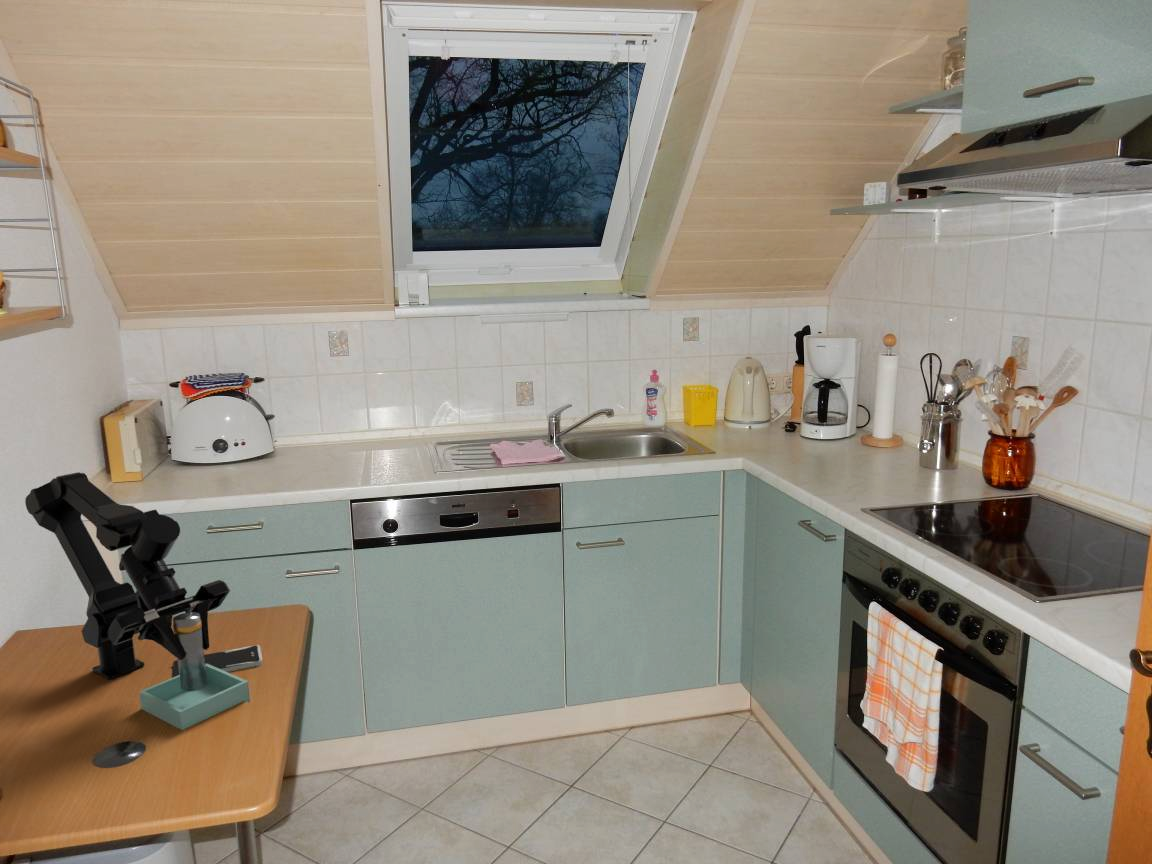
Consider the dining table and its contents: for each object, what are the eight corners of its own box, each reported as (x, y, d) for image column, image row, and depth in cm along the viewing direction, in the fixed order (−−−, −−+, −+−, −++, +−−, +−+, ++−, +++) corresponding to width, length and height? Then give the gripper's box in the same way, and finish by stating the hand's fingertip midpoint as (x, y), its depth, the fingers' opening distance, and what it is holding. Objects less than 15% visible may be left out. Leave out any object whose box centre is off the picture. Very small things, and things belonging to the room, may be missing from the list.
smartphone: (173, 660, 158) (259, 644, 164) (174, 667, 158) (260, 650, 164) (172, 678, 151) (262, 660, 157) (173, 685, 151) (263, 667, 157)
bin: (141, 712, 141) (139, 691, 140) (208, 682, 151) (206, 663, 150) (182, 733, 134) (180, 712, 133) (250, 701, 144) (248, 681, 143)
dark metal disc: (84, 761, 127) (83, 757, 127) (130, 739, 133) (130, 736, 133) (108, 776, 123) (107, 773, 123) (155, 753, 129) (155, 750, 129)
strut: (174, 690, 140) (166, 621, 138) (189, 678, 144) (182, 611, 142) (198, 692, 139) (191, 623, 137) (213, 680, 143) (205, 612, 141)
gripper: (187, 584, 156) (229, 655, 152) (80, 619, 141) (123, 700, 137) (208, 550, 150) (252, 624, 146) (99, 583, 135) (144, 667, 131)
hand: (195, 653), depth 140 cm, fingers closed on strut, 4 cm apart
